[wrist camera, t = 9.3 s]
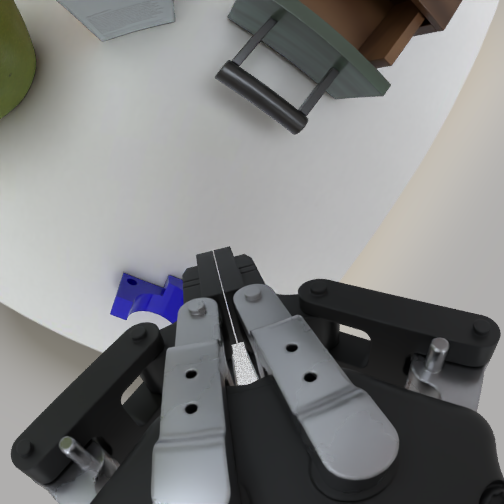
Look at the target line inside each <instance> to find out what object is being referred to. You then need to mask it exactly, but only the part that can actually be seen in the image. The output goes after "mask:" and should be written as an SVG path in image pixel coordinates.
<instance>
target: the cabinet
mask: <svg viewBox="0 0 504 504" xmlns="http://www.w3.org/2000/svg"><path fill="white" fill-rule="evenodd" d="M411 1H412V2H413V3H414V4H415V5H416V7H417V8H418V9H419V10H420V11H421V12H422V13H423V15H424V16H425V17H426V18H425V20H424V21H423V22H422V24H421V25H420V27H419V28H418V29H417V31H416V32H415V34H414V35H413V36H417V35H422V34H427V33H432V32H437V31H443V30H444V29H445V28H446V26H447V24H448V23H449V21H450V20H451V18H452V16H453V15H454V13H455V11H456V10H457V8H458V7H459V5H460V3H461V2H462V0H411Z"/></svg>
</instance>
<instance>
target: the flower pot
mask: <svg viewBox="0 0 504 504" xmlns="http://www.w3.org/2000/svg"><path fill="white" fill-rule="evenodd" d="M35 70H36V56H35V52H34V48H33V45H32V42H31V39H30V36H29V33H28V30H27V28H26V25H25V23H24V21H23V18H22V16H21V14H20V12H19V10H18V8H17V6H16V4H15V2H14V0H0V119H1V118H3V117H4V116H5V115H7V114H8V113H9V112H10V111H12V110H13V109H14V108H15V107H16V106H17V105H18V104H19V103H20V102H21V101H22V100H23V98H24V97H25V95H26V94H27V92H28V90H29V88H30V86H31V84H32V81H33V78H34V75H35Z"/></svg>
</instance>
